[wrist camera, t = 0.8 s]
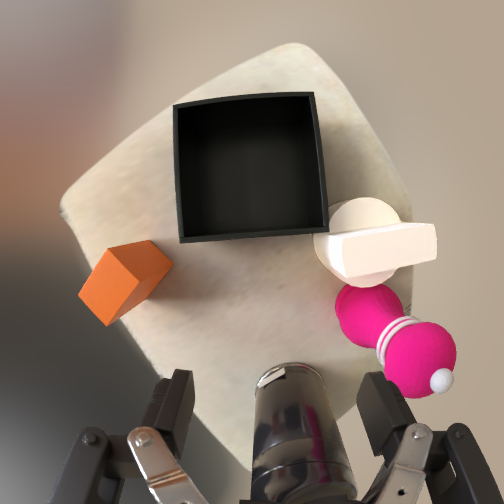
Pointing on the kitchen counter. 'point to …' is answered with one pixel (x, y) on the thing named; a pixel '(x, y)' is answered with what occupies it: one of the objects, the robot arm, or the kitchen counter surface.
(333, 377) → the kitchen counter surface
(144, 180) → the kitchen counter surface
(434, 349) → the pepper mill
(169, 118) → the kitchen counter surface
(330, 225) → the cylinder with rectangular tab
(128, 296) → the orange rectangular block
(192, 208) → the bin
